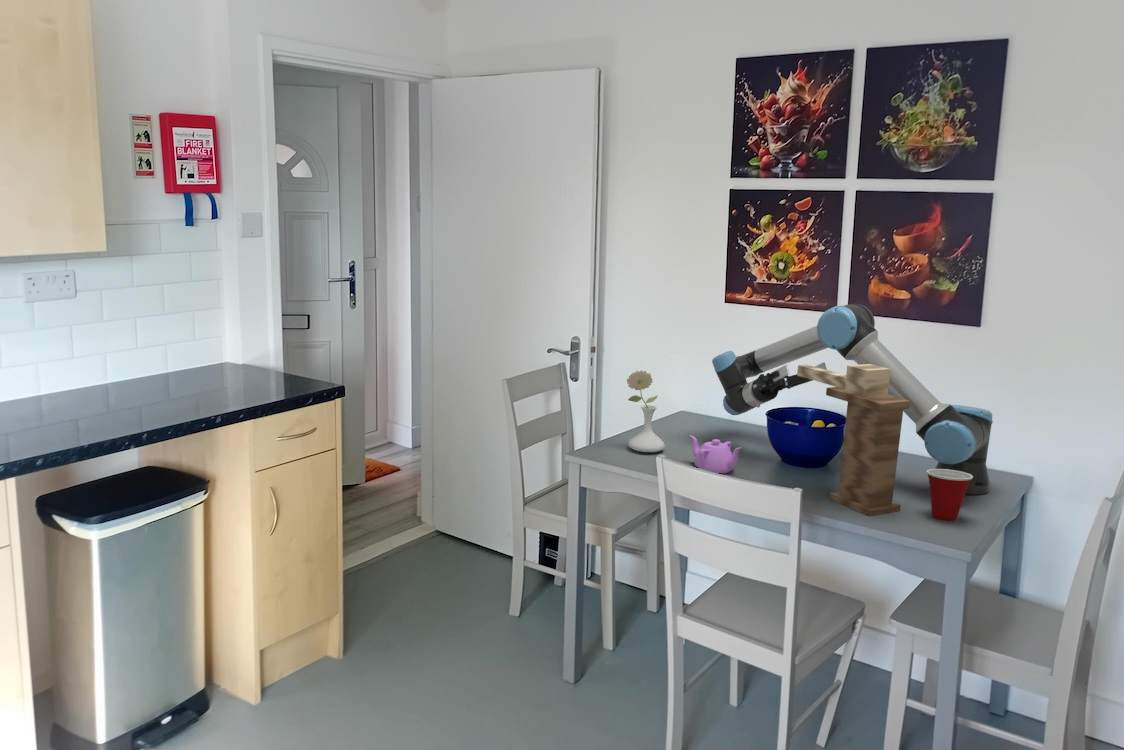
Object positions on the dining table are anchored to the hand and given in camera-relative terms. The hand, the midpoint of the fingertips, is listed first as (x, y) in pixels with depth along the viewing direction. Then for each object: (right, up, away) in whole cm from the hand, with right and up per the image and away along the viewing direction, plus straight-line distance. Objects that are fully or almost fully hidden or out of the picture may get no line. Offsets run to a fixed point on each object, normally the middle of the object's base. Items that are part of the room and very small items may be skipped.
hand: (806, 368), depth 246 cm
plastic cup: (+28, -38, -23) cm, 53 cm away
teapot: (-25, -29, +10) cm, 39 cm away
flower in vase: (-43, -25, +26) cm, 57 cm away
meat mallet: (+5, -5, -10) cm, 12 cm away
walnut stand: (+9, -35, -13) cm, 38 cm away
